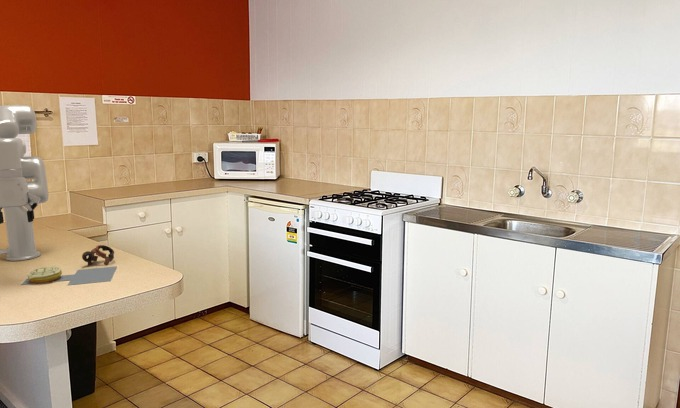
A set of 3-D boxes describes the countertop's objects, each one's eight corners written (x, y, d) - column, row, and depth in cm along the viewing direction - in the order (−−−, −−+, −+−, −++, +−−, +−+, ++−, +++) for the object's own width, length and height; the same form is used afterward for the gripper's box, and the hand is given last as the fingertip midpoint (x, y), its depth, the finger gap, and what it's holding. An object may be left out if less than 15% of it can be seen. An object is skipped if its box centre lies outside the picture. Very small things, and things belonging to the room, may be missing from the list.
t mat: (15, 290, 180) (15, 290, 180) (31, 274, 198) (31, 273, 198) (110, 281, 189) (110, 280, 189) (117, 266, 207) (117, 266, 207)
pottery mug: (101, 260, 218) (109, 243, 217) (112, 273, 214) (121, 256, 212) (73, 259, 208) (82, 242, 206) (85, 273, 204) (93, 256, 202)
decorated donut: (31, 277, 194) (30, 267, 194) (63, 273, 198) (62, 264, 197) (25, 285, 185) (24, 275, 184) (60, 281, 188) (59, 271, 188)
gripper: (-23, 176, 180) (-16, 226, 182) (32, 174, 183) (38, 222, 186) (-13, 174, 187) (-7, 222, 190) (40, 172, 190) (46, 219, 193)
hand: (15, 222), depth 188 cm, fingers open, 9 cm apart
